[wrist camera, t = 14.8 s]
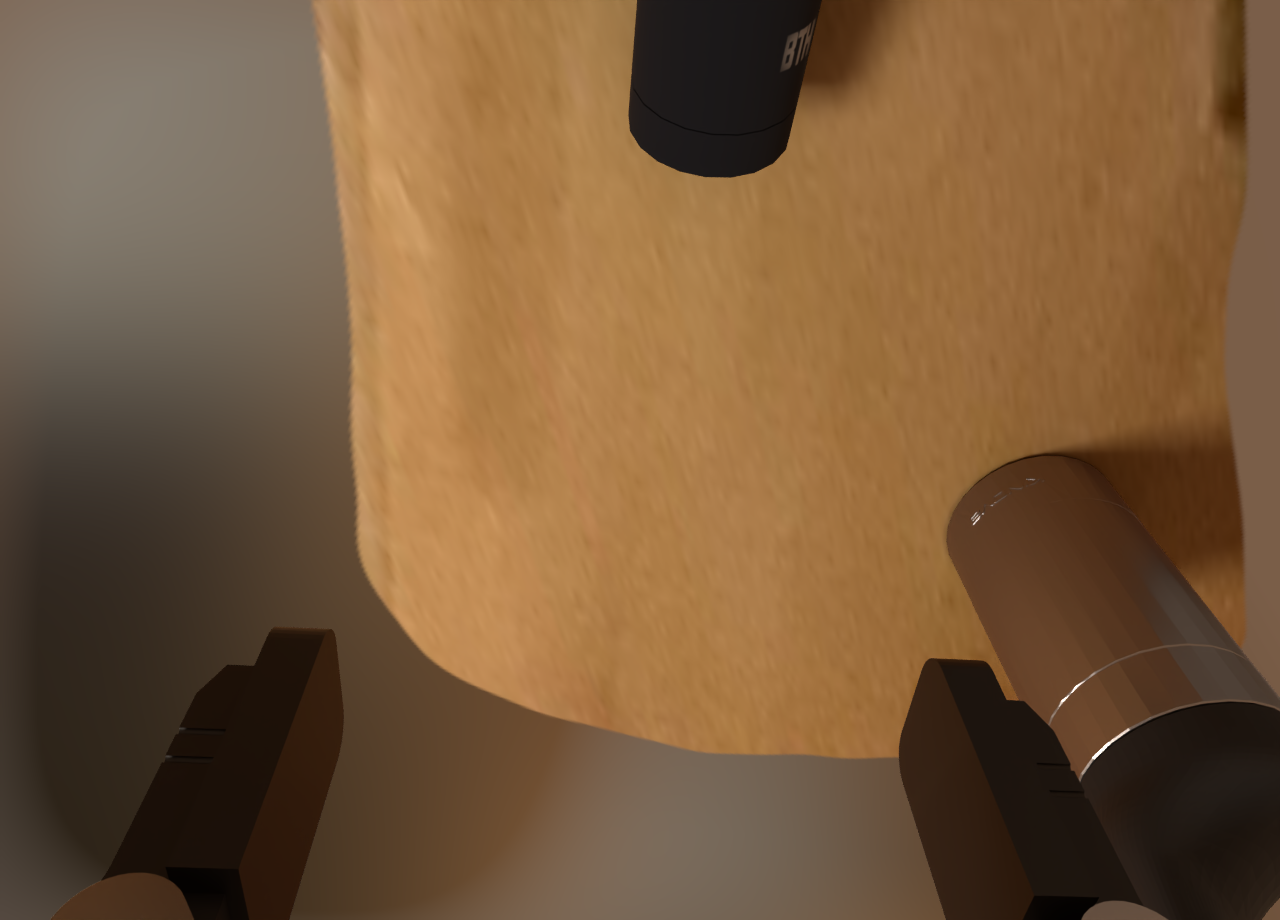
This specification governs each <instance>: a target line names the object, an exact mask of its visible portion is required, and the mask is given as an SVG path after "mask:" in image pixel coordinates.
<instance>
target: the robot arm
mask: <svg viewBox="0 0 1280 920" xmlns="http://www.w3.org/2000/svg"><path fill="white" fill-rule="evenodd" d="M947 546H948V552H949V555H950V558H951V560H952V562H953V564H954V566H955V568H956V570H957V572H958V574H959V576H960V578H961V581H962V583H963V585H964V587H965V589H966V591H967V593H968V595H969V597H970V599H971V601H972V604H973V606H974V608H975V610H976V613H977V615H978V617H979V619H980V621H981V623H982V625H983V627H984V629H985V631H986V633H987V635H988V637H989V639H990V641H991V643H992V645H993V648H994V650H995V652H996V654H997V656H998V658H999V660H1000V662H1001V664H1002V666H1003V668H1004V670H1005V672H1006V674H1007V676H1008V678H1009V680H1010V682H1011V685H1012V687H1013V689H1014V691H1015V693H1016V695H1017V697H1018V699H1019V701H1015V700H1006V698H1005V696H1004V694H1003V692H1002V689H1001V687H1000V685H999V683H998V681H997V679H996V677H995V675H994V672H993V670H992V669H991V667H990V666H989V664H988V663H986V662H985V661H979V660H957V659H935V658H931V659H928V660H927V661H926V662H925V664H924V666H923V669H922V671H921V674H920V678H919V681H918V684H917V687H916V690H915V693H914V696H913V699H912V702H911V705H910V708H909V711H908V715H907V718H906V721H905V724H904V727H903V730H902V733H901V738H900V744H899V765H900V773H901V778H902V781H903V785H904V788H905V791H906V794H907V798H908V801H909V804H910V807H911V810H912V813H913V817H914V820H915V823H916V826H917V829H918V833H919V836H920V839H921V842H922V845H923V848H924V851H925V855H926V858H927V861H928V864H929V867H930V870H931V873H932V877H933V880H934V883H935V886H936V889H937V892H938V895H939V899H940V902H941V905H942V908H943V911H944V915H945V918H946V920H1262V918H1263V917H1264V916H1265V914H1266V913H1267V912H1268V910H1269V909H1270V908H1271V907H1272V906H1273V905H1274V903H1275V902H1276V901H1277V900H1278V899H1279V898H1280V697H1279V696H1278V695H1277V693H1276V692H1275V691H1274V690H1273V688H1272V687H1271V686H1270V685H1269V683H1268V682H1267V681H1266V679H1265V678H1264V677H1263V676H1262V674H1261V673H1260V672H1259V671H1258V670H1257V669H1256V668H1255V666H1254V665H1253V664H1252V662H1251V661H1250V660H1249V659H1248V658H1247V656H1246V655H1245V654H1244V653H1243V651H1242V650H1241V649H1240V647H1239V646H1238V645H1237V643H1236V642H1235V641H1234V640H1233V638H1232V637H1231V636H1230V635H1229V633H1228V632H1227V631H1226V630H1225V628H1224V627H1223V626H1222V624H1221V623H1220V622H1219V621H1218V619H1217V618H1216V617H1215V616H1214V614H1213V613H1212V612H1211V611H1210V609H1209V608H1208V607H1207V606H1206V604H1205V603H1204V602H1203V600H1202V599H1201V598H1200V597H1199V595H1198V594H1197V593H1196V592H1195V590H1194V589H1193V588H1192V587H1191V585H1190V584H1189V583H1188V581H1187V580H1186V579H1185V578H1184V576H1183V575H1182V574H1181V573H1180V571H1179V570H1178V569H1177V568H1176V566H1175V565H1174V564H1173V563H1172V561H1171V560H1170V559H1169V557H1168V556H1167V555H1166V554H1165V552H1164V551H1163V550H1162V549H1161V547H1160V546H1159V545H1158V544H1157V542H1156V541H1155V540H1154V539H1153V537H1152V536H1151V535H1150V533H1149V532H1148V531H1147V530H1146V528H1145V527H1144V526H1143V524H1142V523H1141V522H1140V520H1139V519H1138V518H1137V517H1136V515H1135V514H1134V513H1133V512H1132V510H1131V509H1130V508H1129V507H1128V505H1127V504H1126V503H1125V502H1124V500H1123V499H1122V498H1121V497H1120V495H1119V494H1118V493H1117V491H1116V490H1115V489H1114V488H1113V486H1112V485H1111V484H1110V483H1109V481H1108V480H1107V479H1106V478H1105V476H1104V475H1103V474H1102V473H1100V472H1099V471H1098V470H1097V469H1095V468H1094V467H1093V466H1091V465H1089V464H1087V463H1085V462H1082V461H1080V460H1078V459H1073V458H1068V457H1063V456H1040V457H1034V458H1028V459H1023V460H1020V461H1017V462H1015V463H1012V464H1009V465H1006V466H1004V467H1002V468H1000V469H998V470H996V471H995V472H993V473H991V474H989V475H988V476H986V477H985V478H984V479H982V480H981V481H980V482H978V483H977V484H976V485H974V486H973V487H972V488H971V490H970V491H969V492H968V493H967V494H966V495H965V496H964V497H963V498H962V499H961V501H960V503H959V504H958V506H957V507H956V509H955V510H954V512H953V514H952V517H951V520H950V523H949V525H948V531H947ZM343 723H344V710H343V701H342V691H341V682H340V674H339V663H338V654H337V645H336V637H335V634H334V631H333V630H332V629H317V628H295V627H274V628H273V629H271V631H270V632H269V634H268V636H267V638H266V641H265V643H264V645H263V647H262V650H261V652H260V654H259V657H258V659H257V661H256V663H255V665H254V666H244V665H227V666H226V667H224V668H223V669H222V670H221V671H220V672H219V673H218V674H217V675H216V676H215V677H214V678H213V679H212V680H210V681H209V682H208V683H207V684H206V685H205V686H204V687H203V688H202V689H201V690H200V691H198V692H197V694H196V695H195V697H194V699H193V701H192V703H191V705H190V707H189V709H188V711H187V713H186V715H185V717H184V719H183V721H182V723H181V725H180V727H179V730H180V731H179V734H176V735H175V737H174V739H173V741H172V743H171V745H170V747H169V750H168V752H167V753H166V759H165V762H164V763H161V766H160V767H159V769H158V771H157V773H156V775H155V778H154V780H153V781H152V783H151V785H150V787H149V789H148V791H147V794H146V796H145V798H144V800H143V802H142V804H141V806H140V808H139V810H138V812H137V814H136V816H135V818H134V820H133V822H132V824H131V826H130V828H129V830H128V832H127V834H126V836H125V838H124V840H123V842H122V844H121V846H120V848H119V850H118V852H117V854H116V856H115V858H114V860H113V862H112V864H111V866H110V867H109V869H108V871H107V873H106V874H105V876H104V877H103V879H102V880H101V881H100V882H97V883H95V884H93V885H91V886H90V887H88V888H86V889H84V890H82V891H81V892H79V893H78V894H77V895H75V896H74V897H72V898H71V899H70V900H69V901H68V902H66V903H65V904H64V905H63V906H62V907H61V908H60V909H59V910H58V911H57V912H56V914H55V915H54V916H53V917H52V918H51V920H289V919H290V915H291V912H292V909H293V905H294V902H295V899H296V896H297V892H298V889H299V886H300V883H301V879H302V875H303V873H304V869H305V866H306V863H307V859H308V856H309V853H310V849H311V846H312V843H313V840H314V836H315V833H316V829H317V827H318V823H319V820H320V817H321V813H322V810H323V806H324V803H325V800H326V797H327V794H328V790H329V787H330V784H331V780H332V777H333V774H334V771H335V767H336V764H337V761H338V757H339V753H340V748H341V742H342V735H343Z"/></svg>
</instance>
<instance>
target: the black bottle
mask: <svg viewBox="0 0 1280 920" xmlns="http://www.w3.org/2000/svg"><path fill="white" fill-rule="evenodd" d="M821 1H822V0H637V11H636V24H635V37H634V50H633V62H632V75H631V88H630V101H629V124H630V132H631V133H632V135H633V136H634V138H635V140H636V141H637V143H638V145H639V146H640V147H641V148H642V149H643V150H644V151H645V152H647V153H648V154H649V155H650V156H652V157H653V158H654V159H655V160H657V161H658V162H660V163H663V164H665V165H667V166H669V167H671V168H673V169H676V170H678V171H680V172H685V173H689V174H694V175H698V176H703V177H730V178H731V177H736V176H741V175H746V174H751V173H755V172H757V171H759V170H761V169H763V168H765V167H767V166H769V165H771V164H773V163H774V162H775V161H776V160H777V159H778V158H779V157H780V155H781V154H782V153H783V152H784V151H785V150H786V147H787V143H788V139H789V136H790V132H791V127H792V123H793V119H794V115H795V110H796V106H797V102H798V98H799V93H800V89H801V85H802V81H803V77H804V72H805V68H806V64H807V60H808V56H809V51H810V47H811V43H812V39H813V34H814V30H815V26H816V22H817V18H818V13H819V9H820V5H821Z"/></svg>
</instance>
